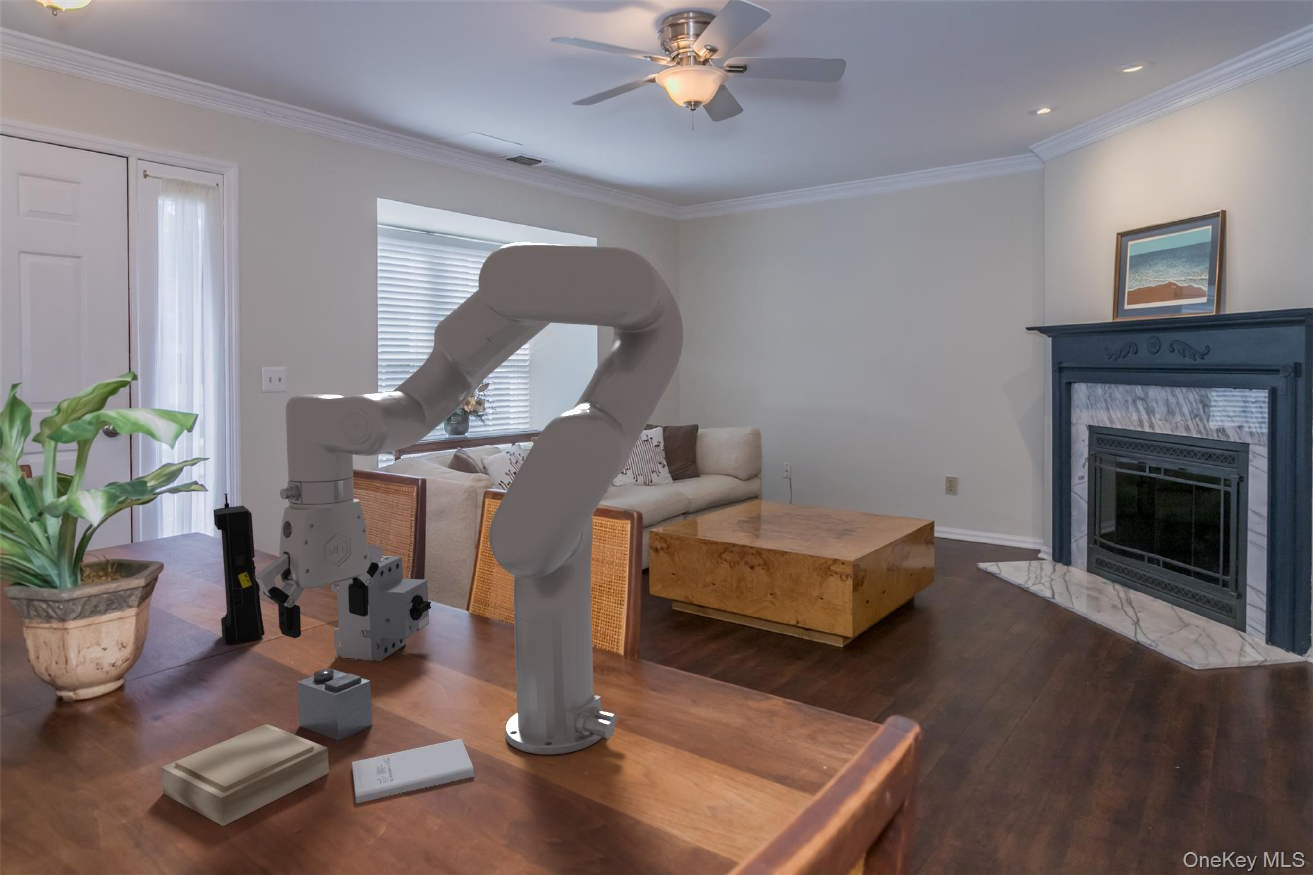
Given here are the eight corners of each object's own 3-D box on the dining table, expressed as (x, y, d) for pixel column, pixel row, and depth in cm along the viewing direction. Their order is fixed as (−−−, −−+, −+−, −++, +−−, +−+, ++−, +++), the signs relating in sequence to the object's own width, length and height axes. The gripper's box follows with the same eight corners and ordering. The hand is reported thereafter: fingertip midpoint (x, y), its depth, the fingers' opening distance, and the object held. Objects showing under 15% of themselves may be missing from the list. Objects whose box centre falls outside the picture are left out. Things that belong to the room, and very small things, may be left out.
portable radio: (266, 640, 133) (257, 496, 131) (226, 648, 130) (216, 500, 128) (260, 628, 140) (251, 490, 138) (221, 635, 136) (212, 494, 134)
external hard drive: (474, 781, 87) (356, 808, 82) (461, 749, 95) (352, 772, 90) (474, 767, 87) (355, 794, 82) (461, 736, 94) (351, 759, 89)
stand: (328, 772, 88) (327, 744, 88) (223, 826, 78) (220, 793, 78) (268, 747, 95) (266, 720, 94) (163, 793, 85) (160, 763, 84)
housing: (372, 725, 100) (369, 674, 100) (338, 741, 96) (335, 688, 96) (333, 712, 105) (331, 663, 104) (299, 726, 100) (296, 675, 100)
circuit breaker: (416, 663, 122) (412, 569, 120) (335, 658, 124) (330, 566, 123) (439, 646, 129) (435, 557, 128) (361, 641, 132) (357, 555, 130)
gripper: (273, 505, 89) (279, 651, 90) (397, 486, 103) (400, 612, 105) (237, 499, 92) (243, 638, 94) (361, 481, 107) (364, 602, 109)
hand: (326, 624), depth 99 cm, fingers open, 9 cm apart
